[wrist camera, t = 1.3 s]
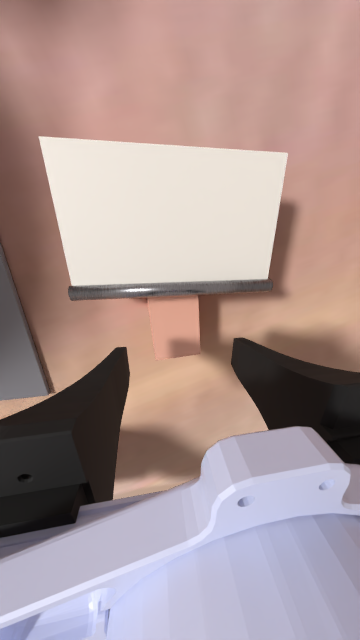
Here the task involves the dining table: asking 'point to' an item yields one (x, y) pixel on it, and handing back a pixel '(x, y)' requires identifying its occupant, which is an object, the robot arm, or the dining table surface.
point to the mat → (17, 345)
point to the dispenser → (163, 217)
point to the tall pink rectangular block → (174, 326)
